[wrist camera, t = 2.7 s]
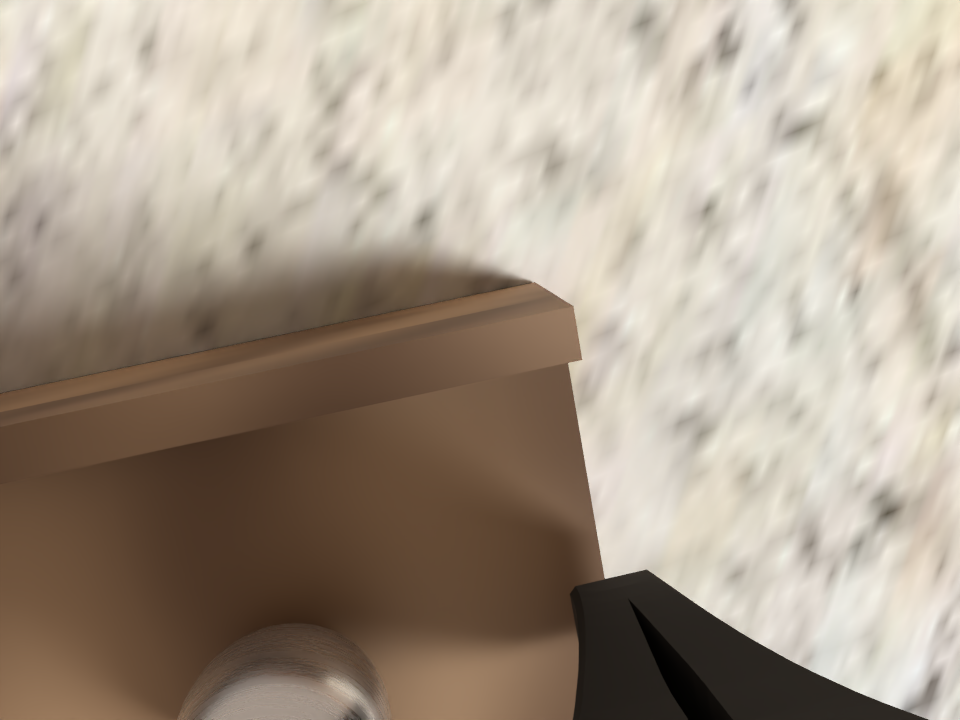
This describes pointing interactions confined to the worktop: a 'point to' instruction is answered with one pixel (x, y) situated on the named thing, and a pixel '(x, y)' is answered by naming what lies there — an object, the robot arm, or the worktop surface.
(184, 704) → the ball
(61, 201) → the worktop surface
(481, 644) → the board
